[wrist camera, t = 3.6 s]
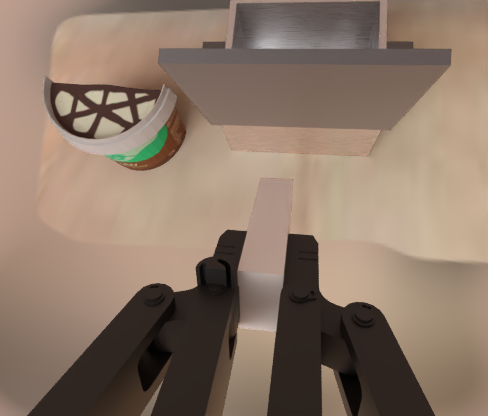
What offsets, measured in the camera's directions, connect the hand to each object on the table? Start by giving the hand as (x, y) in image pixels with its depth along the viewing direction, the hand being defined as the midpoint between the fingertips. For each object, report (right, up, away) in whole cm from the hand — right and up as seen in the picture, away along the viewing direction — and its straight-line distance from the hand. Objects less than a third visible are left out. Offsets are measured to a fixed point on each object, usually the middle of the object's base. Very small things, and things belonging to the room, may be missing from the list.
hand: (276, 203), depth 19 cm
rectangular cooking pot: (+5, +11, +23) cm, 26 cm away
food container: (-13, +6, +24) cm, 28 cm away
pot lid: (+2, +8, +7) cm, 11 cm away
